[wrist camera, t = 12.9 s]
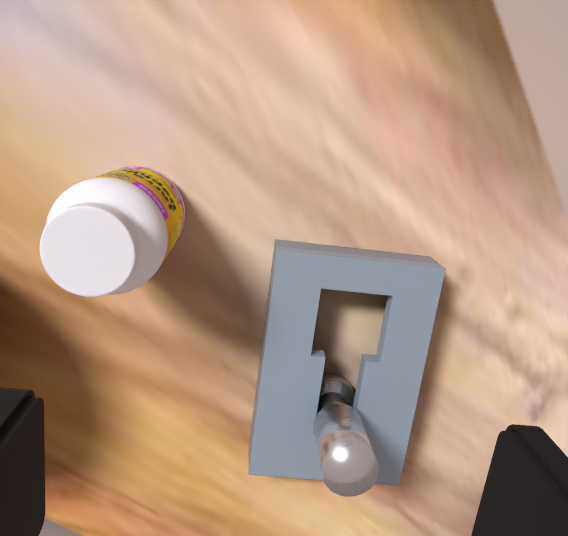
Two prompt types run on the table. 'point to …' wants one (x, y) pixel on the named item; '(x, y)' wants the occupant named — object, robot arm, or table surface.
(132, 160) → the table surface
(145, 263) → the supplement bottle
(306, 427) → the keyhole plate
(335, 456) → the stud
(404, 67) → the table surface
